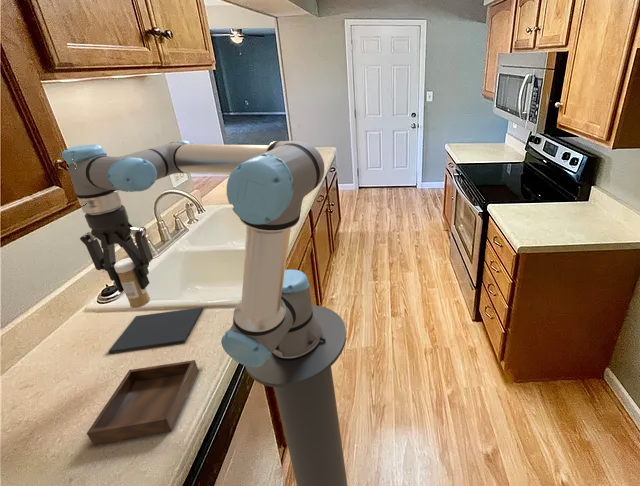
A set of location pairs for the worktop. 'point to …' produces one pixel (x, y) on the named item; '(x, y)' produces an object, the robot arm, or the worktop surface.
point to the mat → (157, 330)
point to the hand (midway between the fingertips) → (134, 287)
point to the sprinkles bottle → (131, 283)
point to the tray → (145, 402)
